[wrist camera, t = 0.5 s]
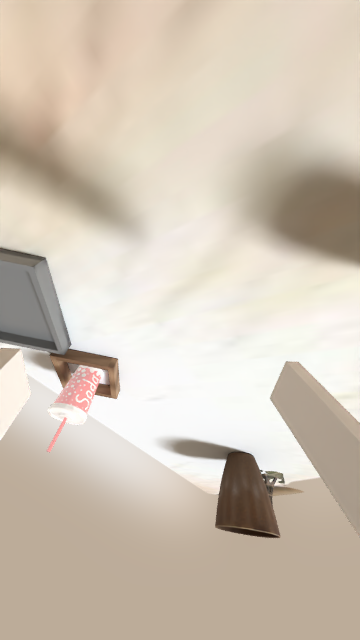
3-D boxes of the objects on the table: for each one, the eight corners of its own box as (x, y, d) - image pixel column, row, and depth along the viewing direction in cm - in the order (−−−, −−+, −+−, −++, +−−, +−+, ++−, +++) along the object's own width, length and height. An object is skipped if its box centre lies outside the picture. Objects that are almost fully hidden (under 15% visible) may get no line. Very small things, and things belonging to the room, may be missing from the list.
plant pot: (261, 467, 66) (271, 539, 54) (213, 460, 68) (213, 529, 56) (273, 451, 56) (289, 536, 44) (217, 444, 58) (218, 524, 46)
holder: (56, 346, 37) (49, 355, 35) (117, 358, 37) (113, 368, 35) (68, 379, 44) (63, 388, 43) (119, 390, 44) (116, 398, 43)
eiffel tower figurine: (285, 481, 75) (295, 534, 65) (255, 480, 79) (261, 529, 69) (281, 469, 66) (293, 527, 57) (249, 467, 70) (254, 522, 60)
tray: (-63, 235, 25) (-84, 243, 23) (45, 258, 25) (33, 267, 23) (-5, 329, 35) (-16, 339, 34) (71, 344, 36) (64, 354, 34)
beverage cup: (111, 379, 42) (76, 460, 31) (83, 378, 43) (41, 456, 33) (99, 360, 38) (55, 445, 28) (69, 359, 39) (16, 441, 29)
